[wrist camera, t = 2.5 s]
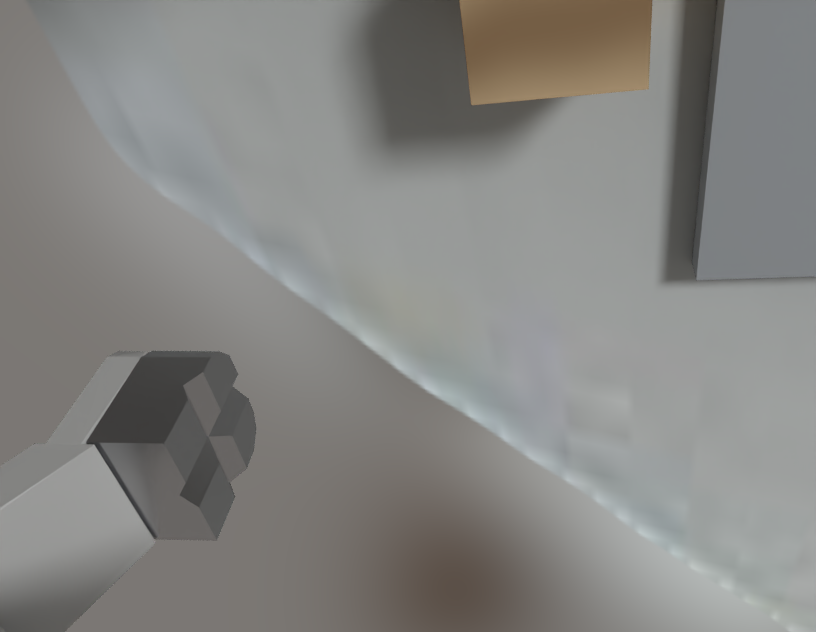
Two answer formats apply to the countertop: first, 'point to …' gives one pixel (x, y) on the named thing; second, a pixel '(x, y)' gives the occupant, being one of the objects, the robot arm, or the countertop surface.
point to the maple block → (555, 48)
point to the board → (759, 144)
